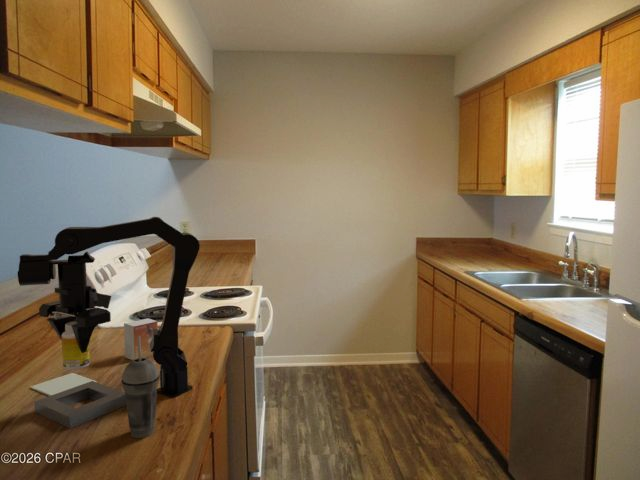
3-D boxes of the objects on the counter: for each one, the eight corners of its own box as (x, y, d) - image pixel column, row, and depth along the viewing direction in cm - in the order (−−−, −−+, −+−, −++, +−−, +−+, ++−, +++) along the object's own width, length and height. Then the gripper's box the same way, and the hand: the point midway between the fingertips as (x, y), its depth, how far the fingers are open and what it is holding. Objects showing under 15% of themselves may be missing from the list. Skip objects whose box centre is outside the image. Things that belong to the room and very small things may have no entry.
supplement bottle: (85, 370, 110) (83, 326, 109) (59, 371, 109) (56, 326, 108) (93, 361, 115) (91, 319, 114) (68, 362, 114) (66, 320, 113)
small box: (134, 361, 141) (132, 326, 140) (124, 357, 144) (123, 323, 143) (158, 354, 147) (157, 320, 146) (149, 350, 150) (147, 317, 149)
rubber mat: (97, 382, 125) (97, 381, 125) (54, 398, 116) (54, 396, 116) (72, 374, 131) (72, 372, 131) (30, 388, 122) (30, 386, 122)
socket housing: (128, 403, 113) (128, 393, 113) (70, 428, 101) (70, 417, 101) (92, 390, 120) (92, 380, 120) (34, 412, 109) (34, 401, 108)
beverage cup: (124, 444, 95) (120, 345, 93) (122, 428, 101) (119, 335, 99) (162, 437, 98) (159, 340, 96) (159, 421, 104) (156, 331, 102)
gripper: (129, 281, 112) (132, 346, 114) (81, 273, 122) (83, 334, 123) (85, 289, 103) (88, 360, 104) (36, 280, 112) (39, 346, 114)
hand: (76, 349), depth 112 cm, fingers closed on supplement bottle, 6 cm apart
